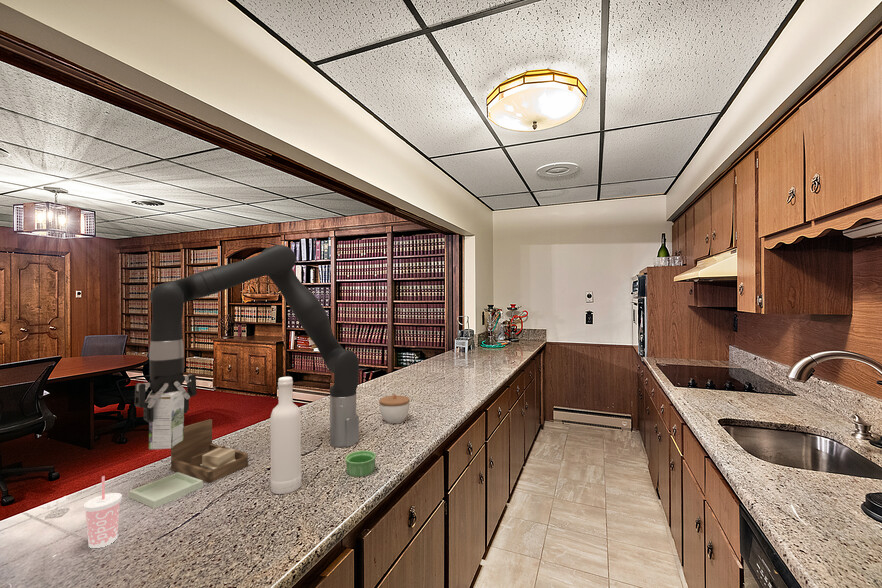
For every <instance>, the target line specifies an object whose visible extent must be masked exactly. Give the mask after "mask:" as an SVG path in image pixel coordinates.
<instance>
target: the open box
mask: <svg viewBox="0 0 882 588" xmlns="http://www.w3.org/2000/svg"><path fill="white" fill-rule="evenodd" d="M217 448H226V449H231V448H229V447H226V446H225V445H218V444H215V443H213V419H206V420H203V421H199V422H195V423H191V424H188V425H184V440H183V441H182V442H180V443H179V444H177V445H176V446H174V447H173V448H171V449H170V470H171V472H172V471H173V472H174V473H177V472H179V473H182V474H185V475H188V476H191V477H194V478H197V479H200V480H202V481H203V483H207V484H211V483H213V482H215V481H217V480H220V479H222V478H225V477H227V476H229V475H231V474H234V473H236V472H239V471H240V470H242V469H245V468H248V467H249V453H247V452H245V451H241V450H236V449H234V450H235V461H232V462H230V463H228V464H225V465H223V466H220V467H218V468H215V469H213V470H207V469H204V468H201V467H200V464H202V455H204V454H206V453H209V452H211V451H213V450H215V449H217Z"/></svg>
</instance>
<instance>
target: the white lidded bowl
mask: <svg viewBox="0 0 882 588" xmlns="http://www.w3.org/2000/svg"><path fill="white" fill-rule="evenodd" d="M378 403H379V412H380V416H381V417H382V419H383V420H384V421H385V422H386V424H391V423H396V424H400V422H401V423H403V422H404V420H405V419H406V417H407V416H408V414H409V409H410V398H409V396H405V395H398V394H392V395H388V396H384V397H381V398H379V402H378Z"/></svg>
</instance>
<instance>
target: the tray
mask: <svg viewBox="0 0 882 588" xmlns="http://www.w3.org/2000/svg"><path fill="white" fill-rule="evenodd" d="M202 488H204V481H202V480H200V479H197V478H194V477H191V476H188V475H185V474H182V473H179V472H174V473H171V474H170V475H167V476H165V477H162V478H159V479H157V480H153V481H151V482H149V483H146V484H144V485H141V486H138V487H135V488H132V489H130V490H129V492H128V498H130V499H131V500H134V501H136V502H139V503H141V504H142V505H144V506H147V507H149V508H152V509H156V508H158V507H161V506H163V505H165V504H167V503H170V502H172V501H174V500H177V499H179V498H181V497H184V496H186V495H188V494H191V493H192V492H195V491H197V490H199V489H202Z"/></svg>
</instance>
